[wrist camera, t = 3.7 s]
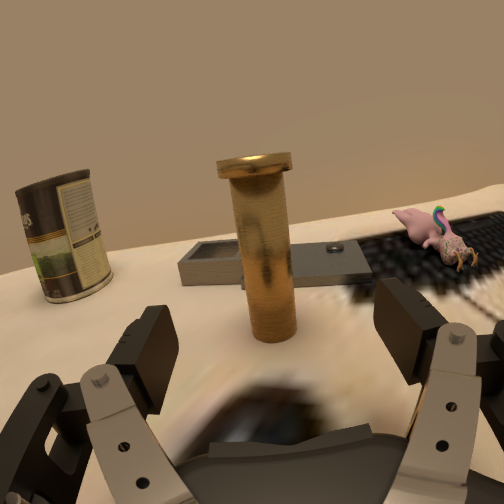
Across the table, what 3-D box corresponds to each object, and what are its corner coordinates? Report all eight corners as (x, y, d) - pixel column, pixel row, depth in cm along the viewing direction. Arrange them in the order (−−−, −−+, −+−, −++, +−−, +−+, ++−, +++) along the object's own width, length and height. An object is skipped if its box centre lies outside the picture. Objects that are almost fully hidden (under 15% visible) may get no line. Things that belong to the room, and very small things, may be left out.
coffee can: (48, 313, 27) (12, 189, 22) (43, 287, 34) (17, 192, 29) (124, 281, 33) (96, 164, 28) (103, 264, 40) (81, 172, 35)
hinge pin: (238, 348, 19) (206, 163, 15) (249, 313, 23) (226, 158, 19) (304, 347, 18) (289, 153, 14) (305, 312, 22) (291, 151, 18)
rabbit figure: (481, 276, 24) (413, 220, 38) (494, 226, 22) (417, 181, 35) (443, 288, 24) (377, 226, 37) (457, 234, 21) (380, 183, 34)
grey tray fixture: (178, 290, 29) (172, 268, 28) (205, 257, 37) (201, 238, 36) (371, 282, 25) (372, 256, 24) (356, 248, 33) (356, 228, 33)
